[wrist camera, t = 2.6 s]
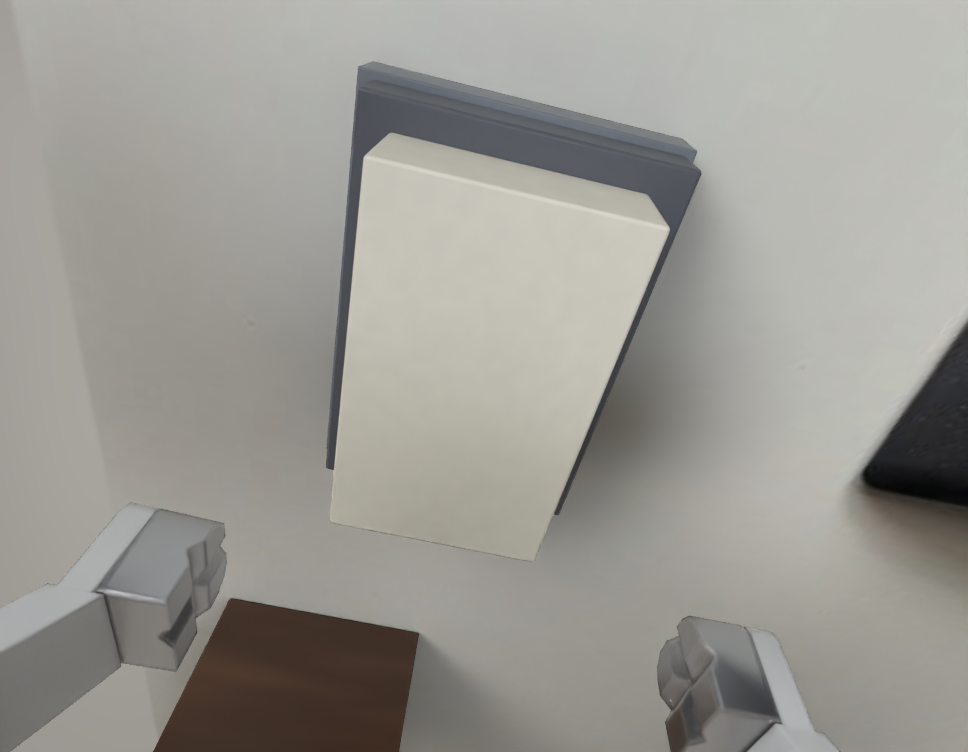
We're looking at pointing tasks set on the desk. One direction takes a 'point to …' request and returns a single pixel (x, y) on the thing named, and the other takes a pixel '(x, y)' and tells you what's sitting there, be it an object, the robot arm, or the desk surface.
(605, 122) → the grey books
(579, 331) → the ivory book
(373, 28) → the desk surface
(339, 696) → the walnut shelf
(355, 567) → the desk surface
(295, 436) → the desk surface
